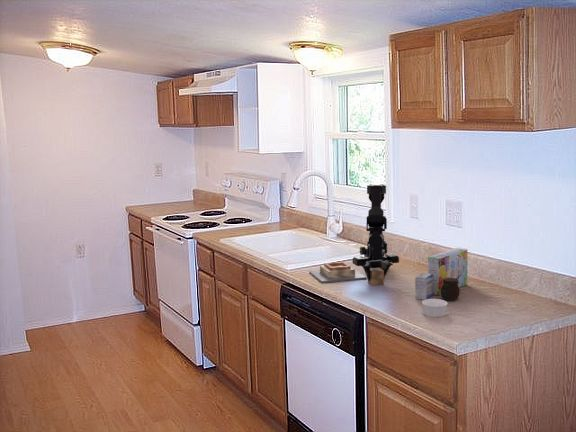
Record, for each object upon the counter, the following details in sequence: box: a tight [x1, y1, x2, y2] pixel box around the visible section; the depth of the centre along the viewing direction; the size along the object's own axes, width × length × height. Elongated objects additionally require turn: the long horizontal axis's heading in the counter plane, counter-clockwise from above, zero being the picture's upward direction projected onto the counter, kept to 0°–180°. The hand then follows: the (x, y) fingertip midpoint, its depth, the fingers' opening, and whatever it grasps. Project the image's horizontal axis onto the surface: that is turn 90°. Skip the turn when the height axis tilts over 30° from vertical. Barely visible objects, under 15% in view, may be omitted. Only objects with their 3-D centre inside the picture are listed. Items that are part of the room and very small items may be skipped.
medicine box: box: [414, 272, 434, 301], centre depth 250 cm, size 8×4×9 cm, turn 148°
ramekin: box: [421, 298, 448, 318], centre depth 230 cm, size 9×9×4 cm
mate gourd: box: [440, 274, 462, 302], centre depth 246 cm, size 7×8×10 cm
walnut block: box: [367, 267, 385, 287], centre depth 271 cm, size 5×5×6 cm
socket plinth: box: [319, 261, 356, 279], centre depth 284 cm, size 12×12×4 cm
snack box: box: [427, 247, 468, 296], centre depth 260 cm, size 21×6×15 cm, turn 134°
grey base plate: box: [308, 269, 367, 284], centre depth 284 cm, size 20×18×1 cm
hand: (375, 279), depth 271 cm, fingers open, 6 cm apart
